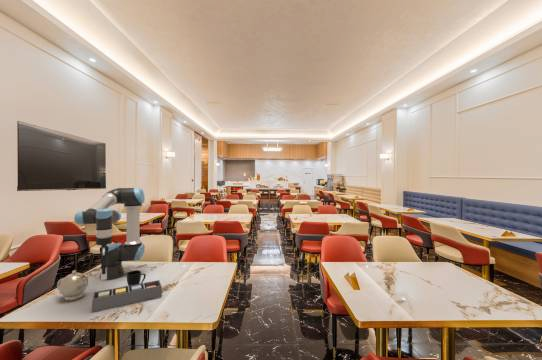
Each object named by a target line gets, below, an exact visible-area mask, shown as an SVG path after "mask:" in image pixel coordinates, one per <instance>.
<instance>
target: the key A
mask: <svg viewBox="0 0 542 360" xmlns="http://www.w3.org/2000/svg"><path fill="white" fill-rule="evenodd" d="M105 296H109V291H106V292H101V293H99V295H98V298H100V297H105Z"/></svg>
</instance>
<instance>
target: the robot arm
mask: <svg viewBox="0 0 542 360" xmlns="http://www.w3.org/2000/svg"><path fill="white" fill-rule="evenodd" d="M144 203H145V192H144V190H143V189H142V188H140V187H118V188H114V189H110V190H108V191H107V192H105V193H104V194H103V195H102V196H101V198H100V199H98V201H96V202H95V203H94V204H92V205H91V206H89V208H88V209H86V210H85V211H84V210H81V211H77V212H76V213H75V214H74V218H73V219H74V223H75V224H76V225H95V231H94V234H95V237H96V239H95V245H97V246H100V247H99V256H100V267H99V269H100V273H99V279H100V281H109V280H110V281H111V280H115V279H116V280H117V279H119V278H122V277H123V276H125V268H124V267H123V264H122V262H132V261H134V262H137V261H141V259H142V258H143V256H144V254H145V247H146V246H145V244H144V243H143V241H142V240H141V239H140V238H141V237H140V236H141V235H140V233H141V231H140V214H141V213H140V209H141V207H142V206H143V204H144ZM118 204H121V205H123V207H124V208H125V209H126V219H125V220H126V225H125V226H126V231H125V232H126V236H125V237H126V239H125V240H126V241H125V242H124V243H123V244H122V242H117V243H113V224H115V223H117V222H119V221H120V219H121V218H122V214H121V212H120V211H119V210H115V209H114V210H113V209H111V208H110V207H112V206H114V205H118Z"/></svg>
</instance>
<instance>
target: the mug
mask: <svg viewBox="0 0 542 360" xmlns="http://www.w3.org/2000/svg"><path fill="white" fill-rule="evenodd" d="M142 276H143V277H142ZM146 276H147V275H146V273H142V271H141V270H130V271H129V272H127V273H126V282H127V286H130V285H136V284H141V283H144V281H145V280H146ZM141 277H142V281H141Z"/></svg>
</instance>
